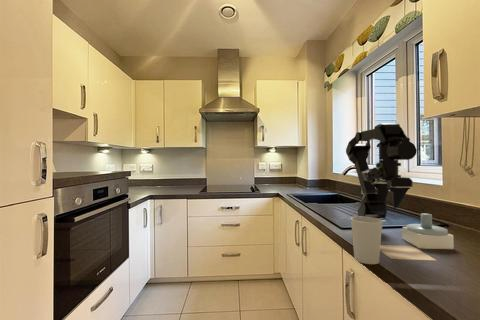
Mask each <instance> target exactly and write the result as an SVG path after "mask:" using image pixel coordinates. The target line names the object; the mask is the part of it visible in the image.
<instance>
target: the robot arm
mask: <svg viewBox="0 0 480 320" xmlns="http://www.w3.org/2000/svg"><path fill="white" fill-rule="evenodd" d="M373 140H376V141H379V142H378V143H377V145H376V148H378V151H379V152H378V162H377V163H375V167H372V168H370V167H369V164H368V161H367V160H368V158H369V155H370V154H369V152H370V151H371V147H372V145H371V143H370V141H373ZM360 142H366V143H365V144H363V143H362V144H359V143H360ZM417 151H418V150H417V148H416V146H415V143H413V142H411V140H410V137H407V135H406V133H405V132H404V130H403V128H402V127H401V125H400V123H378V124H376V125H375V126H374V128H372V129H367V130H362V131H357V132H356V133H355V135H354V137H353V138H352V139H350V140H349V141H348V144H347V146H346V148H345V153H346V155H347V157H348V160H349V161H350V162H351V163H352V164H353V165H354V167H355V171H356V174H357V177H358V181H359V184H360V188H361V191H362V197H361V200H360V206H359V207H358V209H357V217H358V216H362V217H373V218H377V219H380V220H381V219H386V217H387V213H388V204H387V201H386V199H387V196H388V194H389V191H390V193H391V200H392V201H391V202H392V207H393V208H394V209H397V208H399V205H400V204H401V202H402V200H403V199H404V197H405V195H406V194H407V192H408V191H409V190H410V189H411V187H414V186H413V180H412V178H411V177H405V176H402V175H401V174H399V167H402V162H399V161H405V160H406V161H408V160H409V161H410V160H412V159H414V157H415V156H416V155H417Z"/></svg>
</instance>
